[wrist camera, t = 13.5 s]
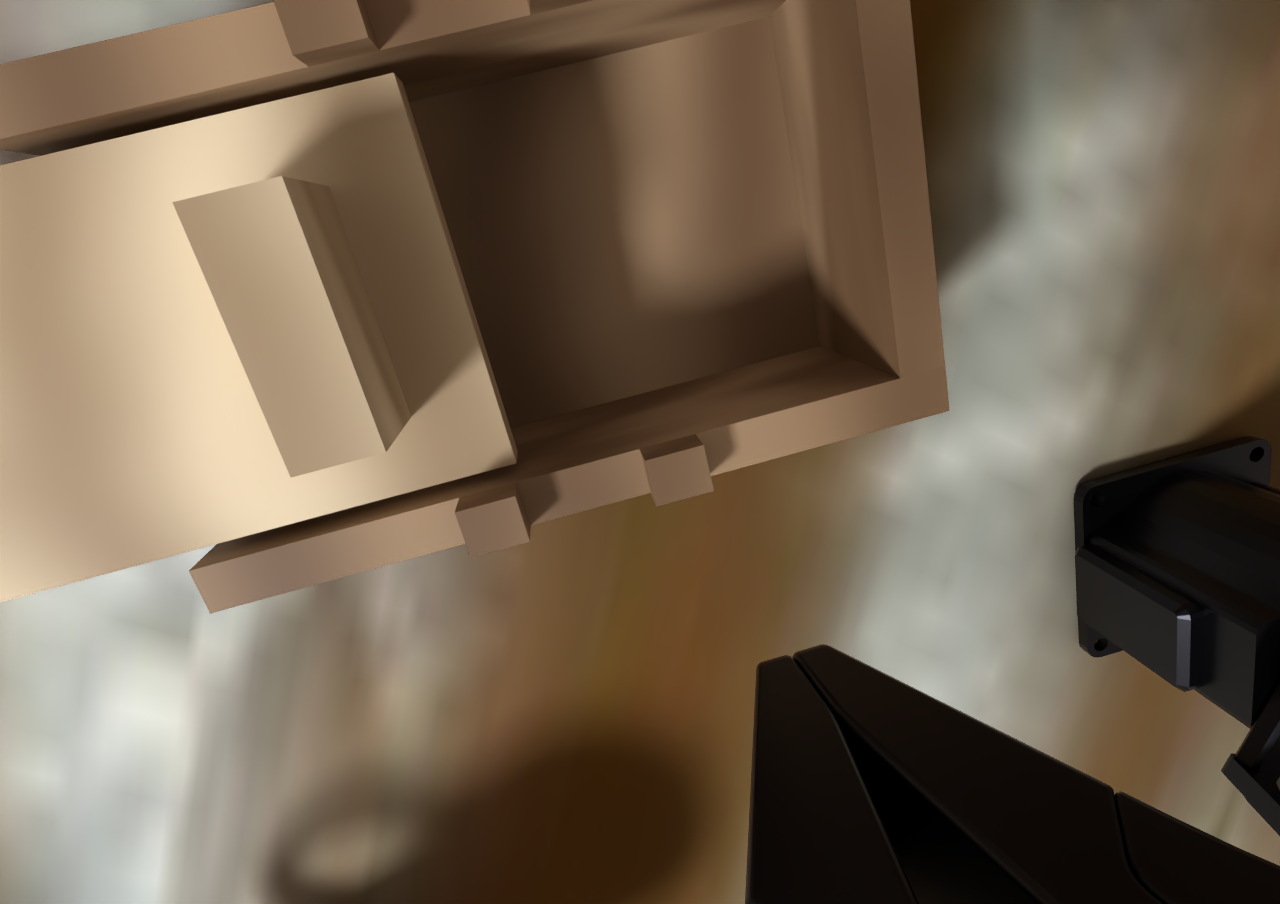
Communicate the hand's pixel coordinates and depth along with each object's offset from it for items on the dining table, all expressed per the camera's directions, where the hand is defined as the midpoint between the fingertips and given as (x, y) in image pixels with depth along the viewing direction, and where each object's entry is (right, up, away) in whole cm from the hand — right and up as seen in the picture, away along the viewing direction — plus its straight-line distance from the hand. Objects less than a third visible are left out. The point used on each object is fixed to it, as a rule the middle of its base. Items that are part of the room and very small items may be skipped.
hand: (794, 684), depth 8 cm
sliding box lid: (-12, +4, +6) cm, 14 cm away
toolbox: (-5, +8, +10) cm, 14 cm away
